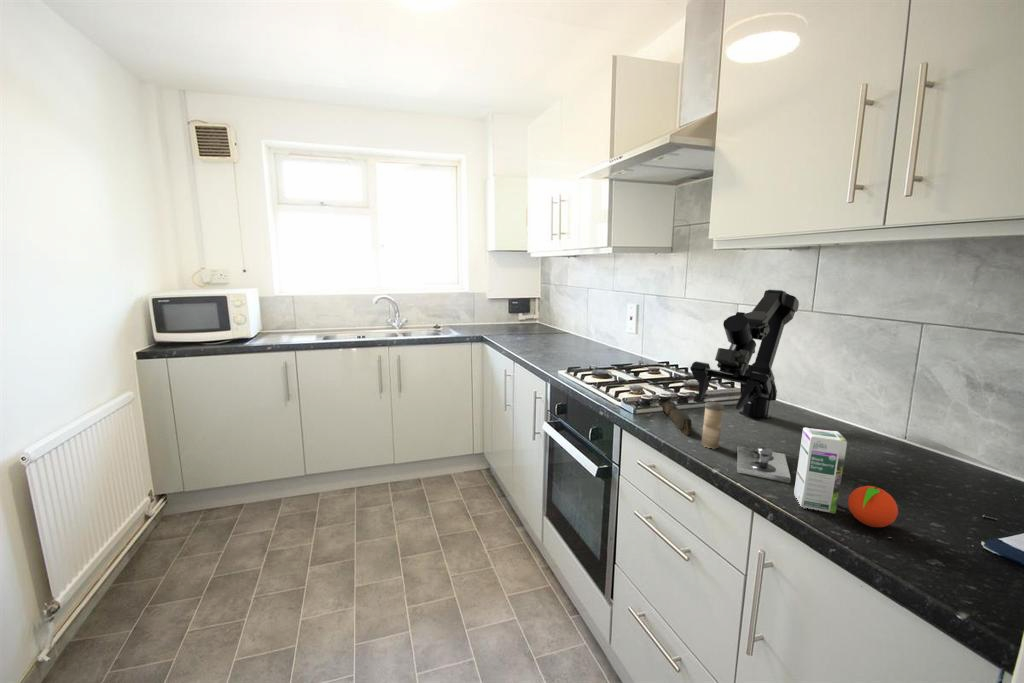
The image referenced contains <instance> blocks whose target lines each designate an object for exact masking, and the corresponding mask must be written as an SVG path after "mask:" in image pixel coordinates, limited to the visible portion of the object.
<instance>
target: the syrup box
mask: <svg viewBox="0 0 1024 683" xmlns="http://www.w3.org/2000/svg"><path fill="white" fill-rule="evenodd" d="M847 446H848V441H847V439H846V438H845V437H844V436H843V435H842V434H841V433H840V432H839V431H837V430H825V429H819V428H812V427H811V428H809V427H803V428H802V434H801V441H800V447H799V448H800V449H799V453H798V454H799V455H798V462H797V470H796V476H795V484H794V491H793V495H794V498H795V499H796V498H797V499H796V501H797V500H798V501H797V503H798V502H799V503H798V505H799V504H800V505H799V506H801V507H803V508H802V509H807V508H808V509H809V510H813V509H814V510H813V511H818V510H819V512H825V513H829V514H833V515H834V514H835V515H836V513H837V507H838V502H839V501H838V500H839V494H840V488H841V484H842V476H843V470H844V466H845V465H844V464H845V458H846V454H847V453H846V452H847ZM801 507H800V508H801Z"/></svg>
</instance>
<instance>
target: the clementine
mask: <svg viewBox="0 0 1024 683" xmlns="http://www.w3.org/2000/svg"><path fill="white" fill-rule="evenodd" d="M847 499H848V500H847V504H848V506H847V507H848V509H849V511H850V513H851V515H852V516H853V517H854V518H855V519H856V520H857V521H859V522H860V523H861V524H863V525H865V526H867V527H872V528H885V527H887V526H889V525H892V524H893V523H894V522H895V521H896V519H897V517H898V514H899V508H898V505H897V503H896V502H897V501H896V500H895V499H894V497H893V496H892V495H891V494H889V493H888V492H887V491H886V490H884V489H882V488H880V487H877V486H873V485H865V486H864V485H863V486H860V487H857V488H855V489H854V490H853V491H851V493H850V494H849V496H848V498H847Z"/></svg>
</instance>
